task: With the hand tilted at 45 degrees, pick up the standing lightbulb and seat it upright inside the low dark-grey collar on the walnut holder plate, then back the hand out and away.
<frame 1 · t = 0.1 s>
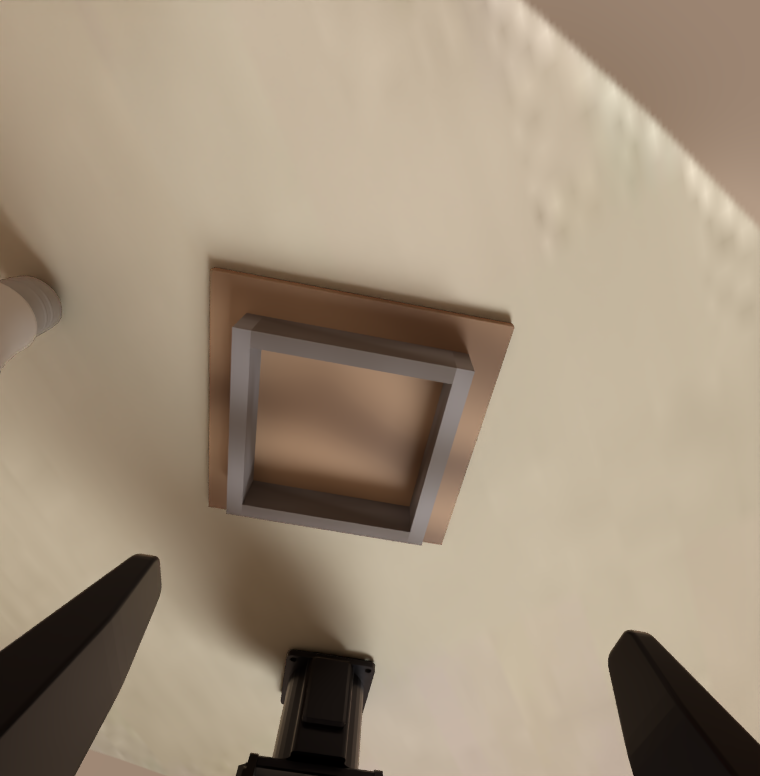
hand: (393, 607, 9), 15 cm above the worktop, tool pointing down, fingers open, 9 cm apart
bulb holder: (344, 422, 24), on the worktop
lightbulb: (49, 296, 22), on the worktop
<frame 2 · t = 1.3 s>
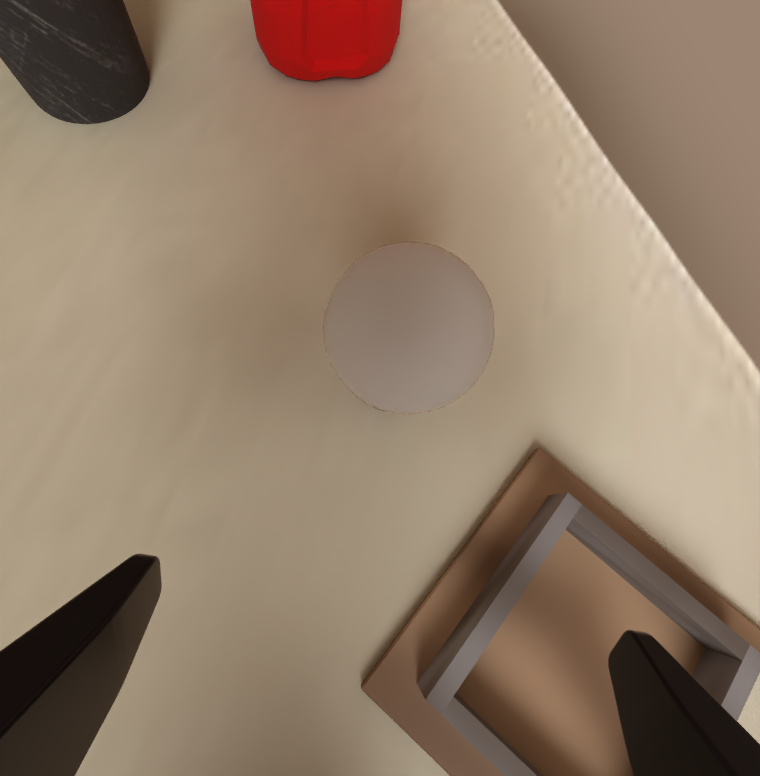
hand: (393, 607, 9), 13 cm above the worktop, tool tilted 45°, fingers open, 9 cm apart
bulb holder: (572, 660, 21), on the worktop
water bottle: (326, 51, 31), on the worktop
lightbulb: (384, 393, 24), on the worktop
travel mug: (92, 83, 28), on the worktop
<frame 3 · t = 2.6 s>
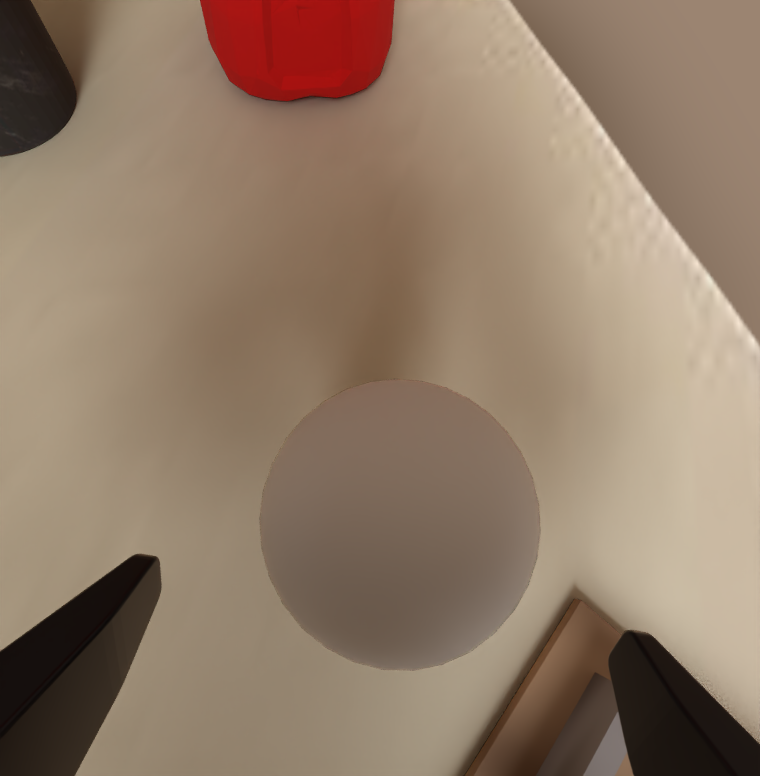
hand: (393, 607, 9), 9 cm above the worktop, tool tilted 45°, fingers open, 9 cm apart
water bottle: (302, 64, 25), on the worktop
lightbulb: (371, 520, 18), on the worktop
travel mug: (3, 104, 22), on the worktop
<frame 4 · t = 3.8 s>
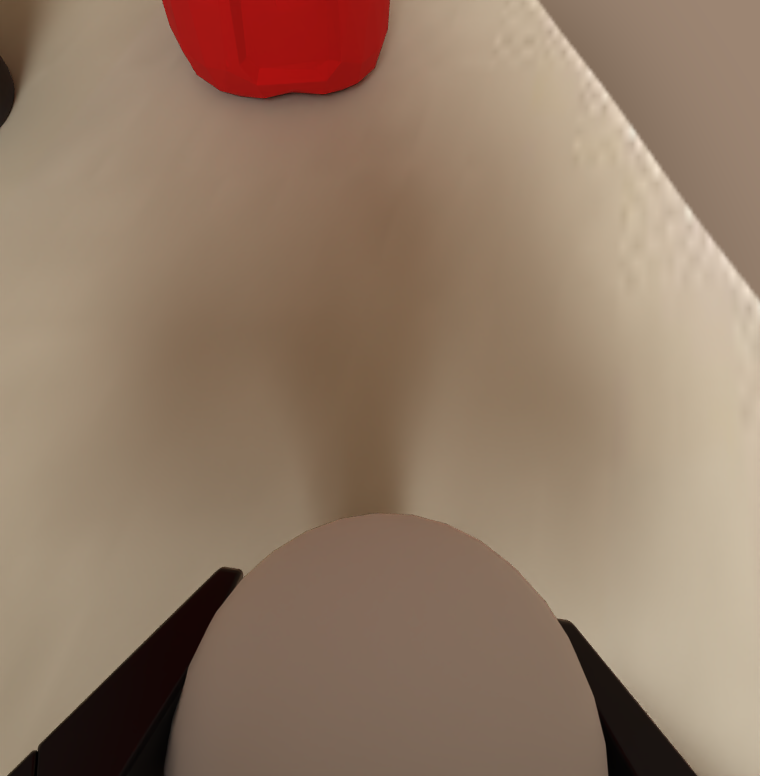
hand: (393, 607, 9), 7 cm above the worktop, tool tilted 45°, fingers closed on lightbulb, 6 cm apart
water bottle: (284, 54, 21), on the worktop
lightbulb: (361, 618, 15), on the worktop, touching gripper
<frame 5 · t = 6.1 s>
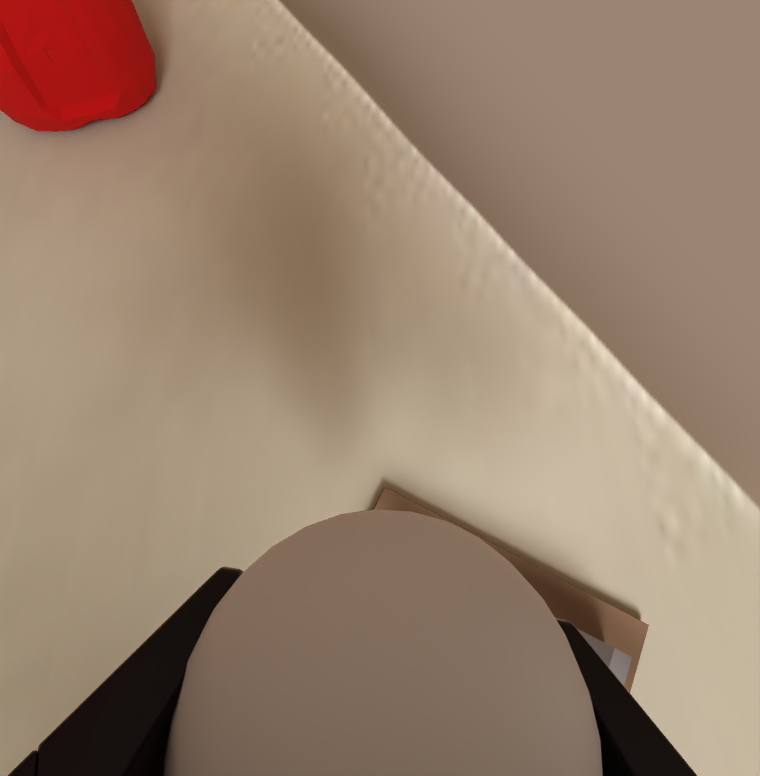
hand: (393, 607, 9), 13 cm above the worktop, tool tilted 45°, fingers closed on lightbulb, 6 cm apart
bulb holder: (453, 703, 20), on the worktop
water bottle: (85, 90, 27), on the worktop
lightbulb: (360, 610, 15), point 7 cm above the worktop, touching gripper
when the fingers open (8 cm above the worktop, at t = 8.3 s): lightbulb drops 1 cm, resting on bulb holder.
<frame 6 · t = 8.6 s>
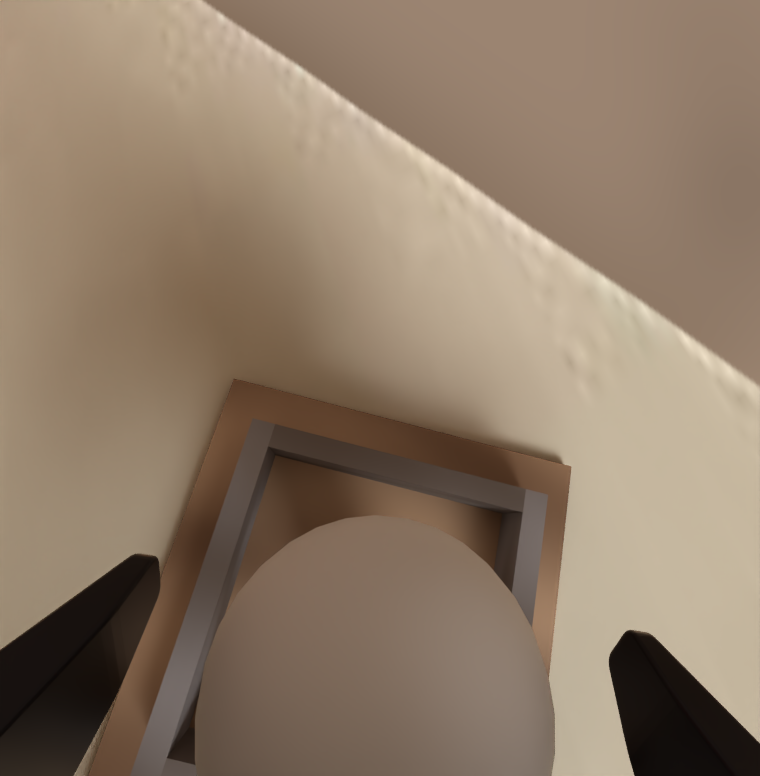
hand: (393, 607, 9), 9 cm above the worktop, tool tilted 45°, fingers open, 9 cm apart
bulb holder: (359, 608, 16), on the worktop
lightbulb: (350, 601, 16), resting on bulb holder
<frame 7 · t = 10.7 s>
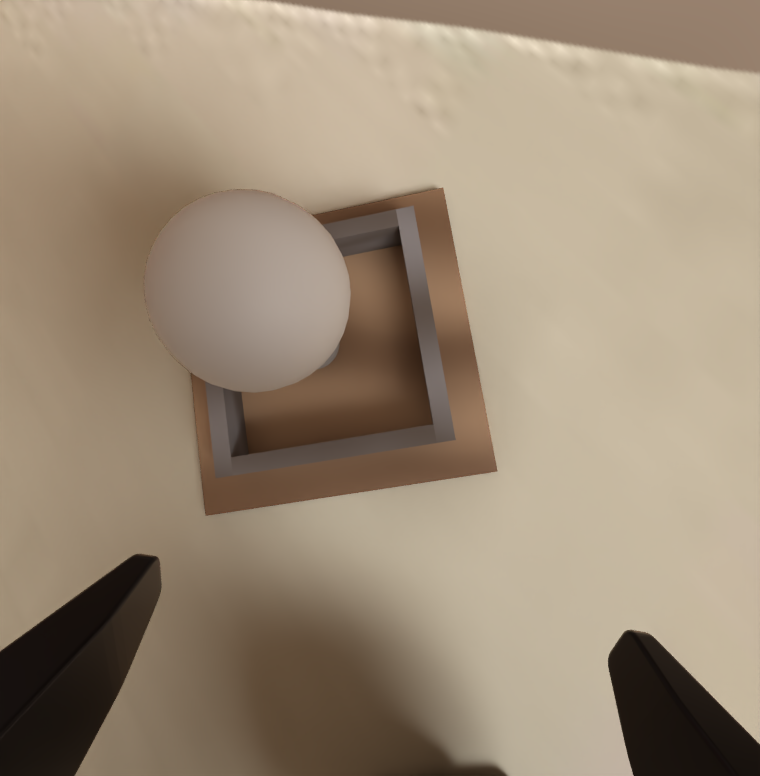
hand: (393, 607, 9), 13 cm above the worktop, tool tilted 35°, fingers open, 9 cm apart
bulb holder: (328, 351, 22), on the worktop
lightbulb: (319, 348, 22), resting on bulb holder
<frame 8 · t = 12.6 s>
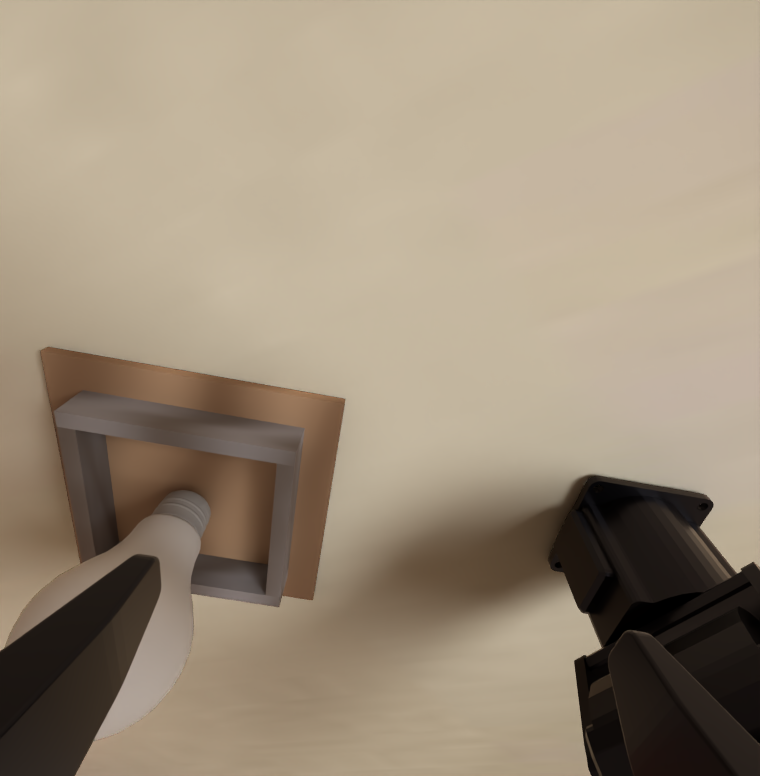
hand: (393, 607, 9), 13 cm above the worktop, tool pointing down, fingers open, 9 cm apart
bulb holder: (200, 487, 24), on the worktop
lightbulb: (194, 496, 24), resting on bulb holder
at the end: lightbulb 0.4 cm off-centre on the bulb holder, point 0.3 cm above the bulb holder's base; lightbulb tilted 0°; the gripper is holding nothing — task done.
